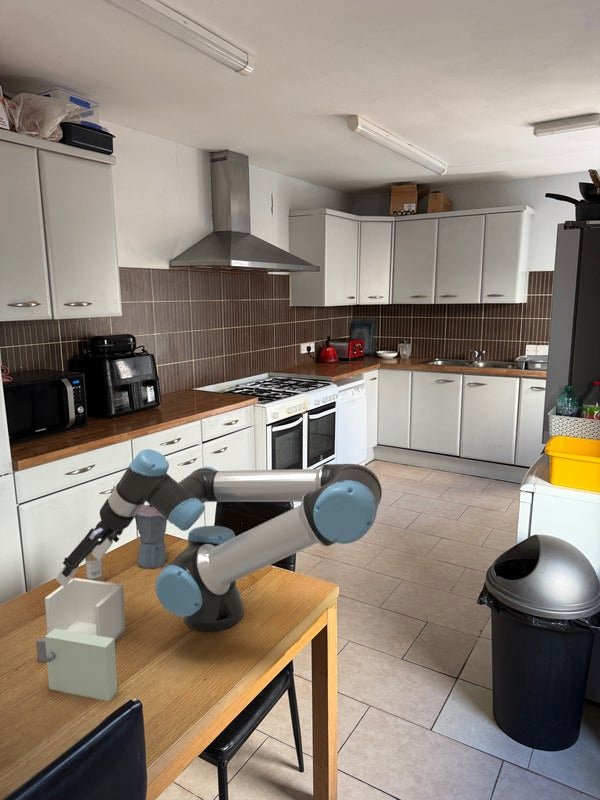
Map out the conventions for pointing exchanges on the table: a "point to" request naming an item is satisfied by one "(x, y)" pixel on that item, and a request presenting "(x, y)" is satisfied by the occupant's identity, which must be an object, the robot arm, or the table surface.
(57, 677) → the door
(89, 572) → the sprinkles bottle
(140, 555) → the moka pot
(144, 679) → the table surface
